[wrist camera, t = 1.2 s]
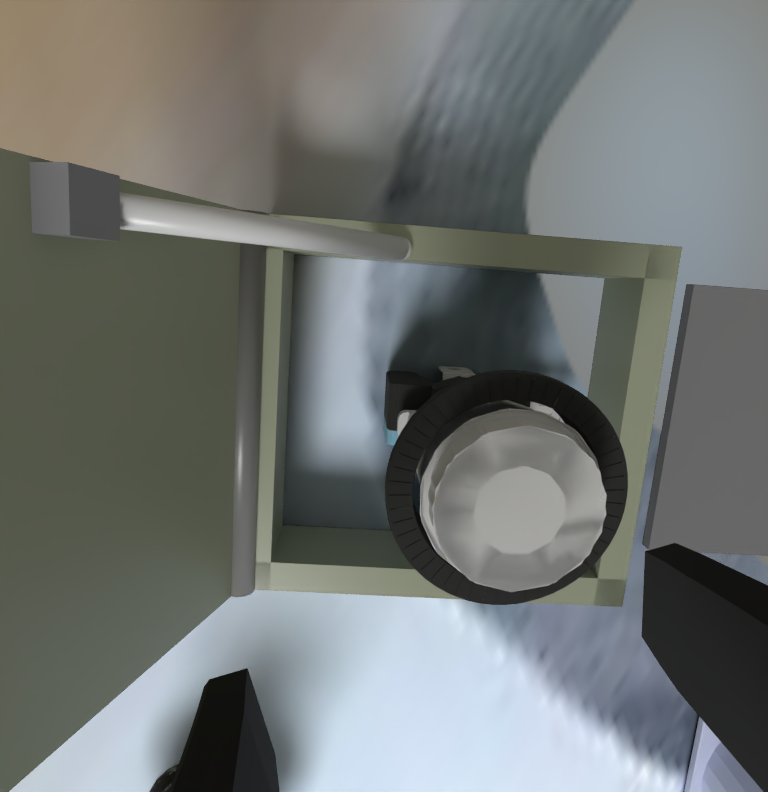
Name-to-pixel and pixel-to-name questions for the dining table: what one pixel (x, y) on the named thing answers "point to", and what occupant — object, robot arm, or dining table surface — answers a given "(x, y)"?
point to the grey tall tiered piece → (165, 781)
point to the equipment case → (210, 423)
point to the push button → (500, 481)
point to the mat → (715, 428)
